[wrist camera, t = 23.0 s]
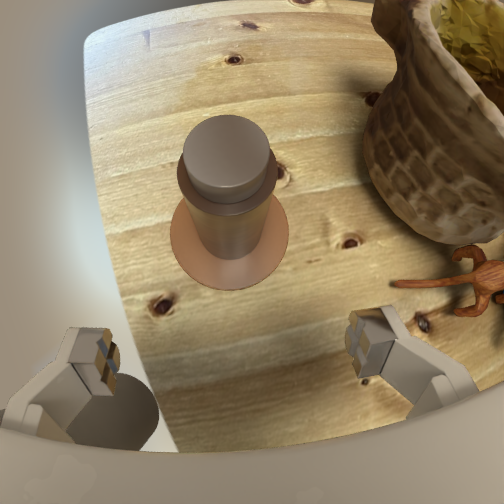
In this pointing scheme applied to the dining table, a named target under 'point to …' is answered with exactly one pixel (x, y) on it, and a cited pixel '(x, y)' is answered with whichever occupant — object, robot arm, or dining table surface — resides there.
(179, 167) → the pepper mill
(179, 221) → the cork coaster
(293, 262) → the dining table surface
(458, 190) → the ceramic vessel
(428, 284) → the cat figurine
